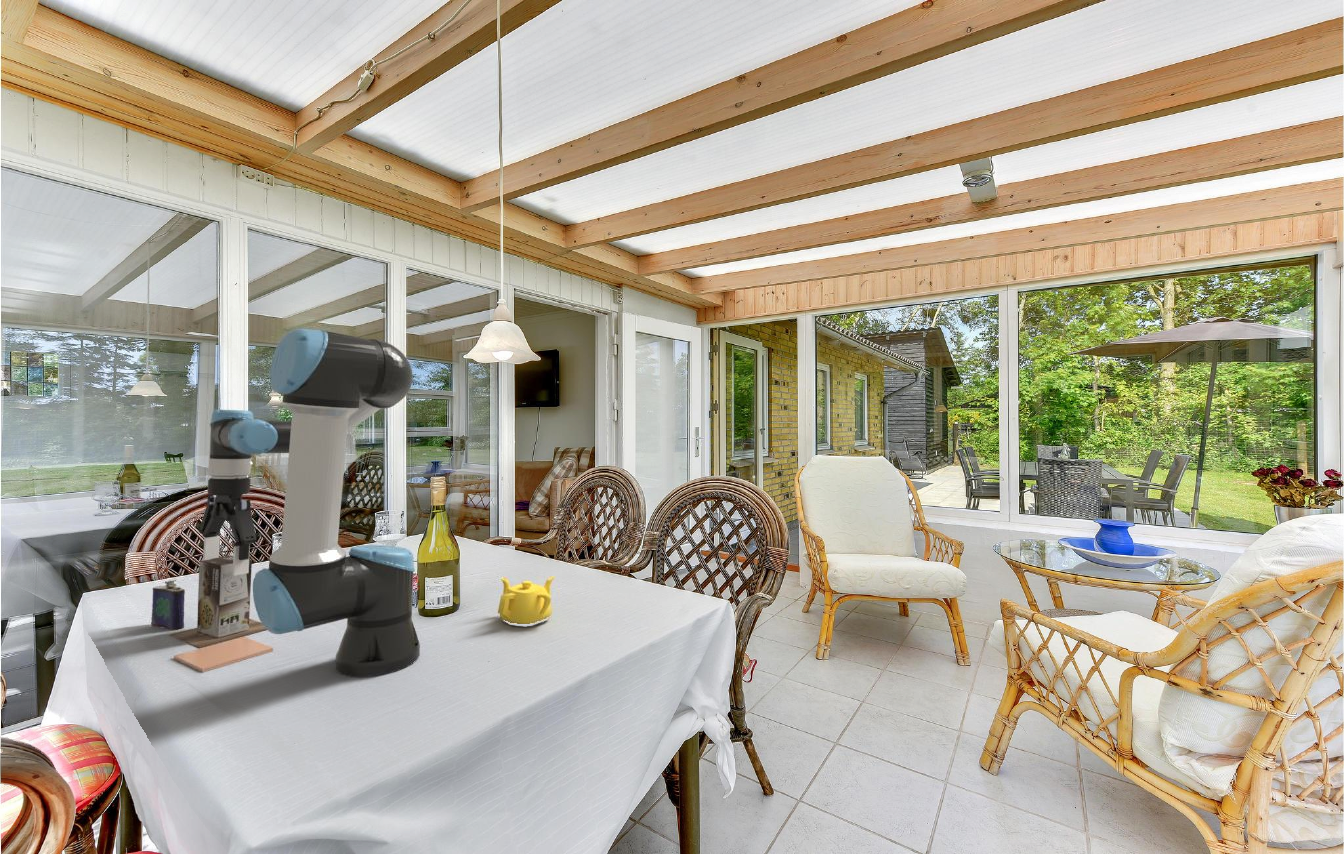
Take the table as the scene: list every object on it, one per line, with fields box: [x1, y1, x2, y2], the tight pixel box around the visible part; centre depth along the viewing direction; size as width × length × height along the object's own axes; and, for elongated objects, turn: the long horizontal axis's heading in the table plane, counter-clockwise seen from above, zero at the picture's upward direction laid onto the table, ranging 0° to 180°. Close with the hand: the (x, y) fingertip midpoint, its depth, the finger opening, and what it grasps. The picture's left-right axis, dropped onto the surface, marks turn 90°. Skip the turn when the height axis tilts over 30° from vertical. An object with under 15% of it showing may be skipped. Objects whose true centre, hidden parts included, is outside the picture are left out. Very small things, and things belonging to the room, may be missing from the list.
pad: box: [173, 636, 274, 673], centre depth 110 cm, size 12×12×1 cm
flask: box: [150, 579, 186, 631], centre depth 125 cm, size 9×3×11 cm, turn 71°
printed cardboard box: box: [196, 555, 253, 638], centre depth 122 cm, size 9×6×16 cm
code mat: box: [169, 618, 268, 649], centre depth 122 cm, size 14×14×1 cm
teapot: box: [497, 575, 556, 624], centre depth 135 cm, size 14×13×10 cm
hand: (225, 569), depth 123 cm, fingers open, 13 cm apart
